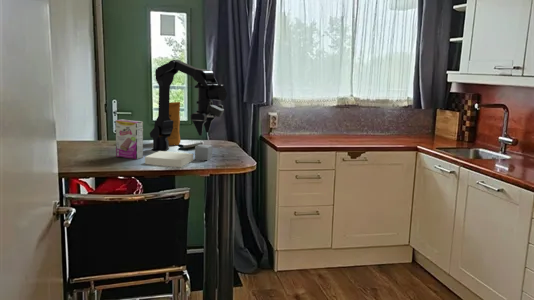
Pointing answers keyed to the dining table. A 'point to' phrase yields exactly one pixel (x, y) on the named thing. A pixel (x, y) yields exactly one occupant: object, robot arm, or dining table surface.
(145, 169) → the dining table surface
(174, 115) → the coffee package
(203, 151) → the grey cube
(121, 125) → the candy bar box
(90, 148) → the dining table surface
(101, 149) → the dining table surface
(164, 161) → the base block
